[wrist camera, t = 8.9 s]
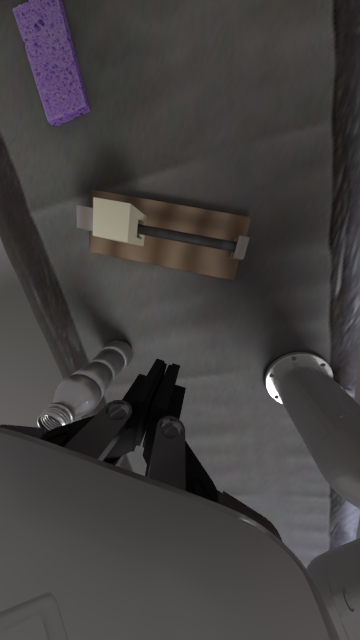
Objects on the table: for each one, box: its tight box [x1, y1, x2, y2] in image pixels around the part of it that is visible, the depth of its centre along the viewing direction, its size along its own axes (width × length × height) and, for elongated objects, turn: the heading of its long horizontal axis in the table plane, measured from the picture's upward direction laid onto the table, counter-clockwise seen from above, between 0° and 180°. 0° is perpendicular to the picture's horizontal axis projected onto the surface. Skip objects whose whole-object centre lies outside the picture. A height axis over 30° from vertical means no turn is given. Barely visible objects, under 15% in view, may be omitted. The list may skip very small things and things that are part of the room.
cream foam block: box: [93, 197, 147, 246], centre depth 27 cm, size 5×5×7 cm
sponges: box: [13, 0, 90, 126], centre depth 27 cm, size 7×13×2 cm, turn 11°
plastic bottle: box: [37, 340, 133, 431], centre depth 31 cm, size 6×7×20 cm
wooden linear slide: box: [77, 189, 252, 280], centre depth 29 cm, size 27×10×6 cm, turn 79°
